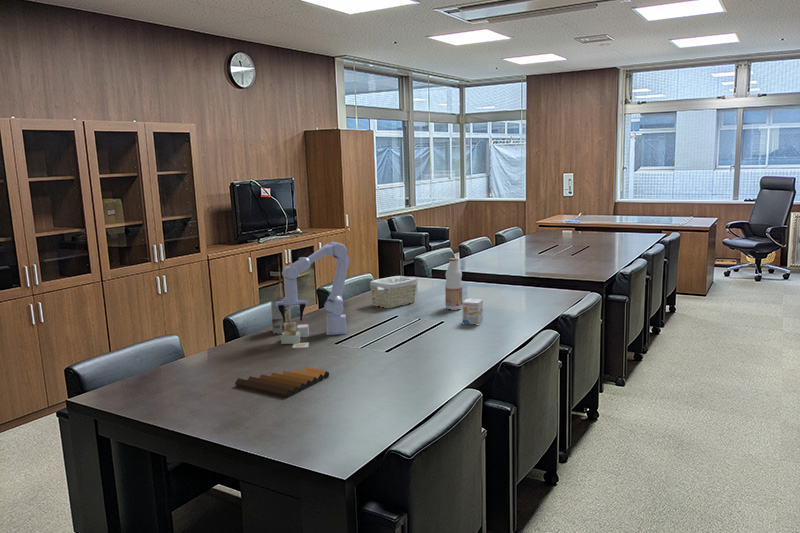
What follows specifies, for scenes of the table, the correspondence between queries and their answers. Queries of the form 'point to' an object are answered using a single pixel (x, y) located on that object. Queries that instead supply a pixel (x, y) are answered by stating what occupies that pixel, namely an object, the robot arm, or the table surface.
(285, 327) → the maple cube
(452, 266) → the fruit juice
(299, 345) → the card
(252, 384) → the pan flute
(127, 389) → the table surface
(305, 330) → the grey cube
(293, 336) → the base block
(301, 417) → the table surface
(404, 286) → the storage basket
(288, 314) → the coffee box
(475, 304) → the ink box
